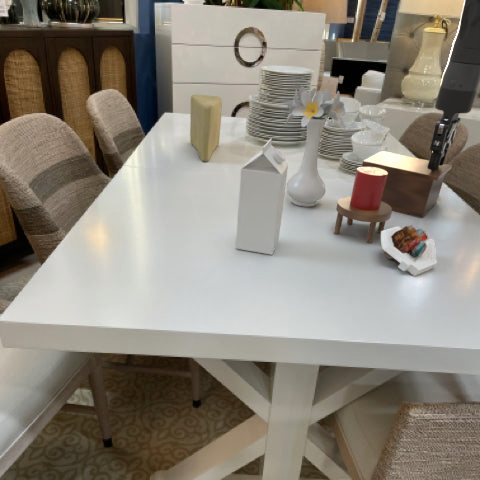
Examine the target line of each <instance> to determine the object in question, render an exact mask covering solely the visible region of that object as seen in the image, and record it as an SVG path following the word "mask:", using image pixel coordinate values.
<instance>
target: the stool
mask: <svg viewBox="0 0 480 480" xmlns="http://www.w3.org/2000/svg"><path fill="white" fill-rule="evenodd" d="M351 196H352V195H351ZM351 196H344V197H341V198H339V199H338V200H337V203H336V204H337V205H336V208H335V209H336V211H337V214H336V220H335V226H334V229H333V230H334V231H333V233H334V234H335V235H340V234H341V229H342V224H343V220H344V219H343V218H344V217H345V218H347V219H346V225H349V226H350V225H353V221H357V222H363V223H369V226H368V230H367V236H366V239H365V243H366V244H368V245H370V244H373V240H374V235H375V231H376V227H377V224H378V227H377V231H376V233H378V234H381V231H383V230H385V226H386V222H387V221H389V220H390V219H391V216H392V214H393V213H392V212H393V211H392V208H391V207H390V206H389V205H388V204H386V203H384V202H382V201H381V204H380V208H379V209H378V210H362V209H358V208H355V207H353V206H352V205H351V204H350V201H351Z"/></svg>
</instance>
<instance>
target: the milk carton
mask: <svg viewBox="0 0 480 480" xmlns="http://www.w3.org/2000/svg"><path fill="white" fill-rule="evenodd" d="M272 140H273V138H269V140H268V141H267V142H266V143H265V144H264V145H263V146H262V150H261V151H259V152H258V153H256V154H255V155H253V156H252V157H251V158H249V159H248V161H246V163H245V164H244V165H243V166H242V167H241V168H240V179H239V193H238V207H237V222H236V236H235V249H236V250H242V251H248V252H253V253H254V252H255V253H260V254H266V255H271V256H272V255H273V254H274V252H275V249H276V248H277V245H278V243H279V239H280V233H281V225H282V223H281V222H282V216H283V210H284V209H283V208H284V199H285V193H286V185H287V177H288V168H289V164H288V162H287V161H286V156H285V154H284V153H283V152H281V150H279V149H276V148H275V147H274V145H272Z"/></svg>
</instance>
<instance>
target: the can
mask: <svg viewBox="0 0 480 480" xmlns="http://www.w3.org/2000/svg"><path fill="white" fill-rule="evenodd" d="M387 175H388V172H387V171H385V170H383V169H380V168H375V167H362V166H359V167H357V168H356V172H355V176H354V182H353V185H352V186H353V187H352V191H351V201H350V204H351V205H352V206H353V207H355V208H358V209H362V210H378V209H379V208H380V204H381V200H382V196H383V192H384V188H385V183H386V179H387Z"/></svg>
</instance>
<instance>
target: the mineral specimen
mask: <svg viewBox="0 0 480 480" xmlns="http://www.w3.org/2000/svg"><path fill="white" fill-rule="evenodd" d="M380 245H381V249H382V250H383V253H384V254H385V256H386V258H387V259H388V260H391V259H392V260H393V262H394V263H396V261H397V262H398V263H399V265H397V268H398V269H400V270H401V271H402V272H408V273H409V274H411V275H412V276H413V277H416V276H418V275H421V274H423V273H425V272H428V271H430V270H433V269H434V268H435V266H436V265H437V264H438V261H437V260H438V259H437V249H436V241H435V240H434V239H432V238H431V237H430V238H429V237H428V234H427V233H426V230H424V229H423V228H418V229H416V227H414V225H413V224H411V225H405V226H404V227H402V228H401V226H399V225H396V226H392V227H390V228H387V229H384V230H383V231H381V233H380Z"/></svg>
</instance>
